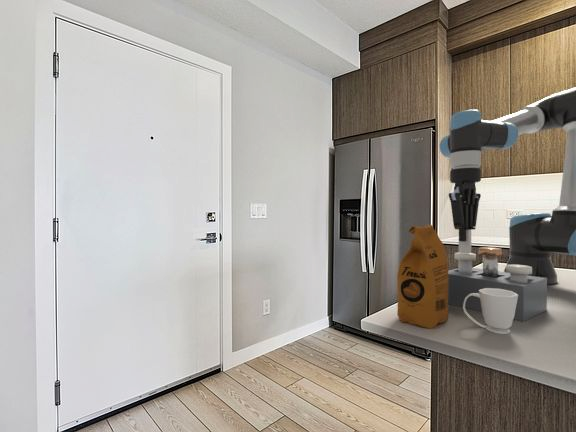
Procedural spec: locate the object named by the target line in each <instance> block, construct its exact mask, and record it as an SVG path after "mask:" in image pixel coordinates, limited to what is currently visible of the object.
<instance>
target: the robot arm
mask: <svg viewBox="0 0 576 432" xmlns="http://www.w3.org/2000/svg"><path fill="white" fill-rule="evenodd" d="M449 123H450V127H449V135H448V134H447V135H445V136H444V137H443V138H442V139H441V140H440V142H439V151H440V153H441V154H442V155H443V157H445V158H447V159H448V158H449V163H450V168H451V170H450V171H449V175H450V176H449V181H450V182H449V183H451V184H454V187H453V192H450V193H448V198H449V202H450V208H451V216H452V222H453V228H454V230H458V253H467V254H470V253H472V230H473V231H475V230H476V229H477V228H476V226H477V219H478V212H479V203H480V200H481V193H477V188H476V183H479V182H481V180H482V169H481V168H480V167H481V165H482V152H484V151H485V152H486V151H489V150H507V149H509V148H511V147H513V146H514V145H515V144H516V143H517V141H518V139H519V136H521V135H524V134H535V133H538V132H541V131H548V130H554V129H555V130H556V129H561V128H562V130H563V131H565V133H567V136H566V139H567V140H566V147H565V152H564V153H565V155H564V161H563V169H562V171H563V172H562V179H561V189H560V195H559V196H560V197H559V204H558V206H557V207H556V208H554V209H553V210H552V211H551V213H550V212H542V213H540V212H539V213H528V214H527V213H526V214H519V215H514V216H512V217H511V218H510V220H509V227H508V229H509V232H508V233H509V258H508V260H507V262H506V265H526V266H531V267H532V274H528V276H535V277H542V278H547V285H551V284H557V283H558V275H557V272H556V269H555V267H554V264H553V262H552V257H551V255H552V253H554V254H562V255H569V256H574V257H576V87H573V88H570V89H566V90H563V91H560V92H557V93H554V94H551V95H550V96H547V97H545V98H543V99H541V100H539V101H536V102H534V103H532V104H529V105H527V106H524V107H522V108H521V109H520V110H519V111H517V112H515V113H512V114H508V115H505V116H503V117H500V118H497V119H493V120H483V117H482V113H481V112H480V111H479V110H478V109H468V110H467V109H466V110H465V109H464V110H461V111H458V112H455V113H454V114H452V116H451V118H450V122H449ZM503 272H506V266H505V268H504V270H503ZM506 273H508V272H506Z"/></svg>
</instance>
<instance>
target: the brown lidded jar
mask: <svg viewBox="0 0 576 432" xmlns="http://www.w3.org/2000/svg"><path fill="white" fill-rule="evenodd" d="M478 254H479V255H481V256H482V269H483V276H487V277H493V278H498V271H499V257H500V256H503V248H499V247H479V248H478Z"/></svg>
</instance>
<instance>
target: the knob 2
mask: <svg viewBox="0 0 576 432" xmlns="http://www.w3.org/2000/svg"><path fill="white" fill-rule="evenodd" d="M505 267H506V272H508V273H510V280H512V281H519V282H525V283H527V275H528V274H532V267H531V266H526V265H507V264H506V265H505Z"/></svg>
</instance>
